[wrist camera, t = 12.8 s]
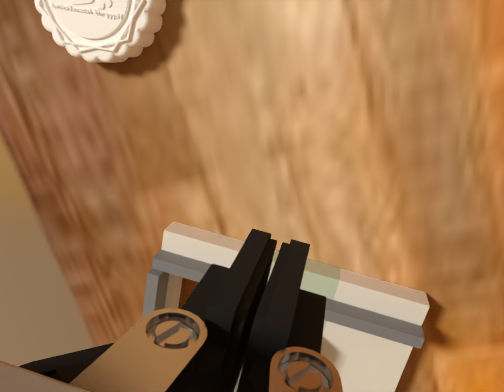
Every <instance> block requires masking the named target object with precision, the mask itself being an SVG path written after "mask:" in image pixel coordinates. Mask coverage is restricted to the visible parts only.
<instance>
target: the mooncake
mask: <svg viewBox="0 0 504 392" xmlns="http://www.w3.org/2000/svg"><path fill="white" fill-rule="evenodd" d="M35 6H36V9H37V10H38V12H39V13H41V14H42V23H43V26H44V27H45V29H46V30H48V31H49V32H52V36H53V39H54V41H55V42H56V43H57V44H58V45H59V46H62V47H66V49H67V51H68V52H69V53H70V54H71V55H72V56H74V57H83V58H84V59H85V60H86V61H88V62H91V63H96V62H105V63H113V62H124V61H126V60H127V59H128V57H137V56H139V55H140V54H141V53H142V50H143V47H148V46H150V45H151V44H152V43H153V41H154V33H156V32H158V31H159V30H160V29H161V27H162V17H161V14H163V12H164V11H165V9H166V0H35Z"/></svg>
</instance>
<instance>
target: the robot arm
mask: <svg viewBox="0 0 504 392" xmlns="http://www.w3.org/2000/svg"><path fill="white" fill-rule="evenodd" d="M270 238H271V234H270V233H267V232H263V231H259V230H256V229H252V230H251V232H250V234H249V235H248V237H247V239H246V241H245V242H244V244H243V246H242V248H241V249H240V251H239V253H238V255H237V256H236V258H235V260H234V261H233V263H232V265H231V267H230V268H227V267H224V266H220V265H217V264H212V265H211V266H210V267H209V269H208V270H207V272H206V273H205V275H204V276H203V277H202V279H201V280H200V282H199V283H198V285H197V286H196V288H195V289H194V291H193V292H192V294H191V295H190V297H189V298H188V300H187V301H186V303H185V304H184V306H183V307H182V309H176V308H166V309H159V310H156V311H153V312H151V313H149V314H148V315H146V316H145V317H143V318H142V319H141V320H140V321H139V322H138V323H137V324H136V325H134V326H133V327H132V328H131V329H130V330H129V331H128V332H127V333H126V334H124V335H123V336H122V337H121V338H120V339H119V340H118V341H117V342H115V343H111V344H107V345H103V346H98V347H94V348H90V349H85V350H81V351H77V352H73V353H68V354H64V355H59V356H55V357H51V358H46V359H42V360H38V361H33V362H30V363H27V364H24V365H21V366H19V367H18V366H15V365H12V364H9V363H7V362H4V361H1V360H0V392H234V389H235V386H236V383H237V381H238V378H239V375H240V372H241V375H240V380H239V384H238V388H237V392H343V389H342V383H341V378H340V375H339V372H338V370H337V369H336V368H335V366H334V365H333V364H332V363H331V362H330V361H329V360H328V359H327V358H326V357H324V356H323V355H321V345H322V336H323V327H324V318H325V308H326V296H323V295H319V294H316V293H312V292H309V291H306V290H302V289H300V287H301V282H302V278H303V274H304V269H305V265H306V260H307V256H308V251H309V247H310V244H307V243H303V242H299V241H296V240H292V239H291V242H290V244H287V243H284V242H283V243H282V245H281V248H280V251H279V253H278V256H277V259H276V261H275V264H274V267H273V269H272V272H271V275H270V277H269V273H270V269H271V265H272V261H273V256H274V252H275V248H276V244H277V240H273V239H270ZM268 277H269V280H268ZM267 282H268V283H267ZM242 366H243V367H242ZM241 369H242V371H241Z"/></svg>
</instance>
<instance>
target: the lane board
mask: <svg viewBox="0 0 504 392" xmlns="http://www.w3.org/2000/svg"><path fill="white" fill-rule="evenodd" d="M244 242H245V241H242V240H238V239H235V238H231V237H228V236H224V235H220V234H217V233H213V232H210V231H206V230H203V229H199V228H196V227H192V226H188V225H185V224H181V223H178V222H174V221H173V222H172V223H171V224H170V225H169V226H168V227H167V228H166V229H165V230H164V234H163V242H162V250H161V251H160V252H159V253H158V254H157V255H156V256H155V257H154V258H153V264H152V269H151V270H150V271H149V272H148V273H147V282H146V290H145V299H144V307H143V316H142V318H143V317H145V316H146V315H148V314H149V313H151V312H153V311H156V310H159V309H166V308H176V309H178V306H179V300H180V293H181V287H182V280H183V278H186V279H189V280H193V281H196V282H200V280H201V279H202V277H203V276H204V275H205V273H206V272H207V270H208V269H209V267H210V266H211V265H212V264H217V265H220V266H224V267H227V268H230V267H231V265H232V263H233V261H234V260H235V258H236V256H237V255H238V253H239V251H240V249H241V248H242V246H243V244H244ZM278 253H279V251H277V250H275V252H274V256H273V261H272V265H271V269H270V273H269V277H270V275H271V272H272V269H273V267H274V264H275V261H276V259H277V256H278ZM269 277H268V280H269ZM267 283H268V282H267ZM300 289H302V290H306V291H309V292H312V293H316V294H319V295H323V296H326V308H325V318H324V327H323V336H322V345H321V355H323V356H324V357H326V358H327V359H328V360H329V361H330V362H331V363H332V364H333V365H334V366H335V368H336V369H337V370H338V372H339V375H340V378H341V383H342V389H343V392H395V389H396V387H397V384H398V382H399V380H400V377H401V375H402V372H403V370H404V367H405V365H406V363H407V360H408V358H409V355H410V353H411V351H412V348H413V347H415V348H418V349H421V347H422V345H423V342H424V340H425V337H424V333H423V329H422V324H423V321H424V319H425V317H426V314H427V312H428V309H429V307H430V305H429V302H428V299H427V295H426V292H423V291H419V290H416V289H412V288H409V287H405V286H402V285H398V284H394V283H391V282H387V281H384V280H380V279H377V278H373V277H370V276H366V275H363V274H359V273H355V272H352V271H348V270H345V269H341V268H338V267H334V266H331V265H327V264H323V263H320V262H316V261H313V260H309V259H307V260H306V265H305V269H304V274H303V278H302V282H301V287H300ZM240 373H241V372H240ZM239 377H240V375H239ZM238 381H239V378H238ZM238 381H237V383H236V386H235V389H234V392H237V388H238V384H239V382H238Z"/></svg>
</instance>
